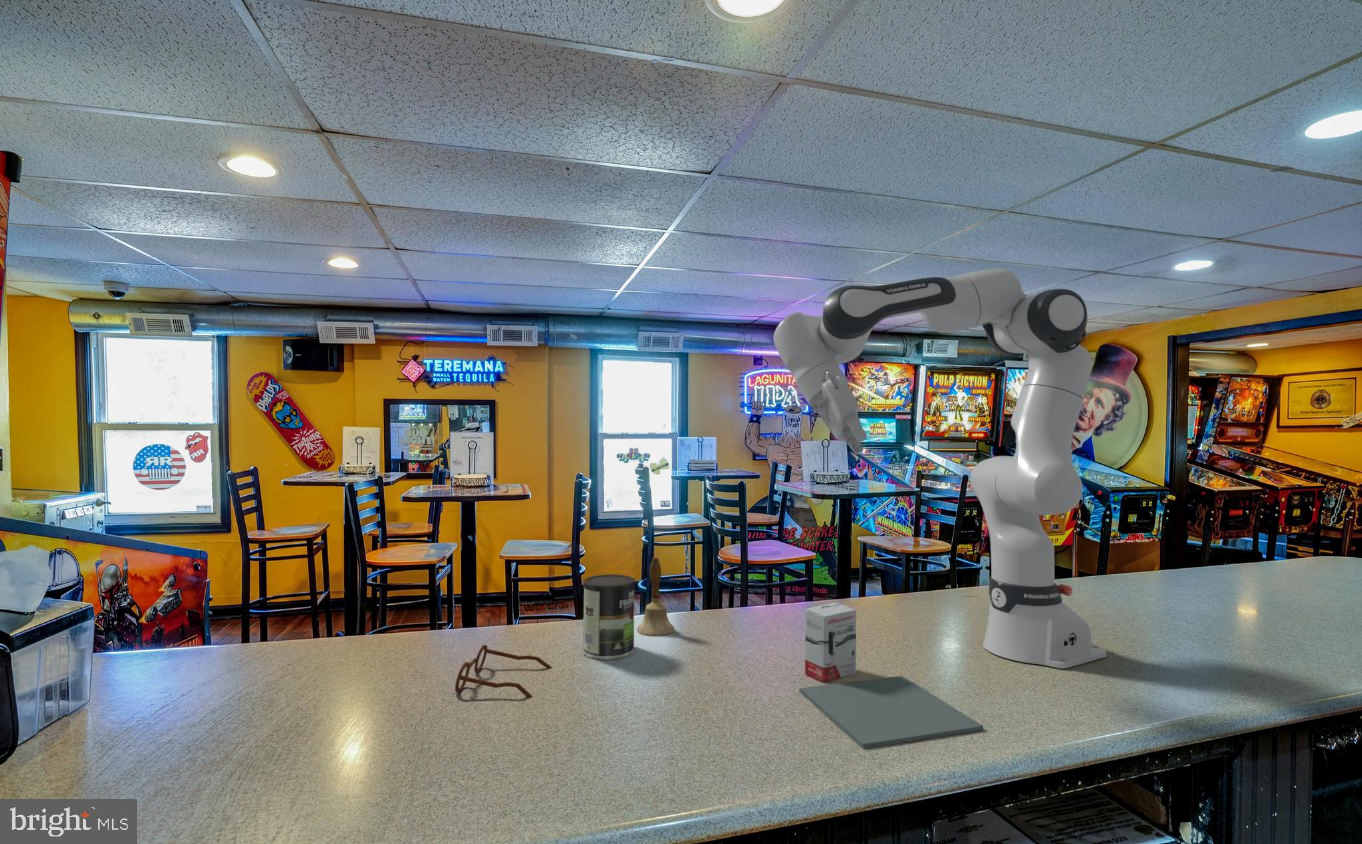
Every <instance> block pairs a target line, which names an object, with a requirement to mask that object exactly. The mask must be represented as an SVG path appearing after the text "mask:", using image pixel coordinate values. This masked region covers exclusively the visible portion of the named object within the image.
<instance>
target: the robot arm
mask: <svg viewBox="0 0 1362 844" xmlns="http://www.w3.org/2000/svg"><path fill="white" fill-rule="evenodd" d="M1087 309H1088V308H1087V306H1086V303H1085V300H1084V299H1083V298H1082V296H1081V295H1080V294H1079V293H1077V292H1075V291H1074V290H1071V289H1067V288H1066V289H1065V288H1052V289H1047V290H1043V291H1042V292H1040V293H1036V294H1034V295H1029V296H1028V295H1027V294H1026V293H1025V292H1024V291H1023V289H1022V284H1021V281H1020V280H1019V278H1018V276H1017V275H1016V274H1015V273H1014V272H1012V270H1008V269H1006V268H991V269H981V270H976V271H970V272H966V273H965V272H964V273H962V274H958V275H954V276H951V277H940V276H931V277H929V276H928V277H924V278H922V277H921V278H916V279H909V280H905V281H904V280H903V281H899V282H891V283H888V284H882V285H873V286H872V285H870V286H869V285H857V284H855V285H853V284H852V285H851V284H849V285H845V286H842V287H839V288H836V289H834V290H833V291H832V292H831V293H829V295H827V298H826V300H825V301H824V303H823V308H822V315H818V316H817V315H809V314H804V313H801V312H798V311H797V312H793V313H791V314H789V315H787V316H786V317H785V318H783V319H782V320H781V321H780V323H778V325H777V326H776V328H775V330H774V333H773V344H774V346H775V349H776V351H777V353H778V354H779V357H780V358H781V360H782V362H783V364H784V366H785V367H786V369H787V370H788V371H789V372H790V373H791V374H792V375H793V377H794V380H795V383H796V386H797V387H798V389H799V391H800V393H801V394H802V396H803V397H804V399H805V401H806V403H807V404H808V405H809V406H810V407H811V410H812V411H813V412H814V413H815V414H816V413H818V415H819V417H820V418H821V420H822V422H823V423H824V425H825V426H826V427H827V428H828V430H829V431H830V433H831V435H833V436H834V438H835V439H836V440H837V441H838V442H842V441H844V442H845V443H846V444H847V445H848V446H849V448H850V449H851V450H852V451H853V453H854V454H855V455H859V454H861V453H863V451H864V446H863V445H862V442H863V441H866V440H867V437H868V434H867V432H866V431H865V429H864V427H863V425H862V423H861V420H860V418H859V416H858V414H859V413H858V412H859V408H860V405H859V402H858V400H857V398H856V397H855V395H854V394H853V393H852V391H851V389H850V387H848V386H849V383H850V381H849V379H848V377H846V375H845V373H844V371H843V370H842V368H841V366H840V365H844V364H847V363H850V362H852V361H855V359H857V358H858V357H859V356H860V355H861V353H862V351H863V350H864V349H865V346H866V344H867V342H868V338H869V336H870V334H871V332H872V330H873V329H874V328H876V327H877V325H878V324H879V323H881V322H883V321H884V320H887V319H892V318H896V317H902V316H908V315H911V314H917V313H920V315H921V316H922V320H924V323H925V324H926V325H927V326H928V327H929V328H930V329H932V330H933V331H935V332H937V333H940V334H947V333H950V334H951V333H956V332H962V331H965V330H969V329H971V328H976V327H978V326H982V328H983V330H984V331H985V334H986V339H987V341H988V343H989V344H990V346H991V347H992V348H993V349H994V350H995V351H996V352H998V353H1000V354H1002V355H1007V356H1008V355H1009V356H1021V355H1024V354H1027V358H1028V368H1027V369H1028V372H1027V374H1026V376H1025V378H1024V382H1023V384H1022V386H1021V390H1020V393H1019V396H1018V399H1017V401H1016V404H1015V408H1014V410H1013V413H1012V416H1011V419H1010V425H1011V428H1012V429H1013V431H1014V432H1015V437H1016V442H1015V443H1016V445H1015V453H1014V455H1013V456H1010V455H1009V456H1008V455H998V456H992V457H989V458H987V459H984V460H981V461H980V462H978V463H977V464H976V465H975V466H974V467H973V469H972V470H971V472H970V477H969V484H970V488H971V490H972V492H973V493H974V495H975V496H976V498H977V499H978V500H979V502H980V506H981V507H982V511H983V515H984V518H985V521H986V525H987V530H988V533H989V542H990V563H991V564H990V565H991V568H990V569H991V571H990V572H991V576H989V578H988V594H989V598H990V602H989V607H988V609H989V610H988V618H987V625H986V630H985V632H984V640H983V642H982V646H983V648H984V649H985V650H986V651H988V652H990V653H992V654H994V655H996V656H998V657H1001V658H1005V659H1009V660H1012V661H1016V662H1021V663H1027V664H1034V665H1035V664H1036V665H1041V666H1042V665H1043V666H1048V667H1053V668H1056V669H1068V668H1073V667H1074V666H1080V665H1082V664H1087V663H1089V662H1093V661H1096V660H1100V659H1104V658H1106V657H1108V656H1107V651H1106V650H1105V649H1103V648H1102V647H1101V646H1099V645H1096V644H1095V643H1092V642H1093V641H1092V633H1091V628H1090V625H1089V624H1088V622H1087V621H1086V620H1085V619H1084V618H1082V617H1081V616H1080V615H1078V613H1076V612H1075V611H1073V610H1072V609H1071V608H1070V607H1068V605H1066V604H1065V603H1064V601H1063V598H1062V595H1064V596H1066V597H1070V596H1072V594H1073V593H1074V590H1073V587H1072V586H1071V585H1067V584H1066V585H1065V584H1063V583H1060V584H1058V585H1057V584H1056V582H1055V546H1054V543H1053V541H1052V539H1051V537H1049V535H1048V534H1047V533H1046V531H1045V530H1044V527H1043V526H1042V522H1041V520H1040V517H1039V516H1053V515H1054V516H1055V515H1060V514H1065V513H1068V512H1071V511H1072V510H1073V509H1075V508H1076V507H1077V505H1078V504H1079V503H1080V500H1081V499H1082V495H1083V481H1082V479H1081V477H1080V475H1079V473H1078V472H1077V470H1076V469H1075V467H1074V464H1073V456H1072V454H1073V453H1072V443H1073V436H1074V432H1075V428H1076V425H1077V422H1078V418H1079V415H1080V412H1081V409H1082V407H1083V403H1084V401H1085V397H1086V393H1087V389H1088V386H1089V381H1090V375H1091V368H1092V357H1091V354H1090V352H1089V351H1088V349H1087V348H1085V347H1084V346H1083V345H1081V344H1082V343H1083V341H1084V340H1085V338H1086V336H1087V331H1086V328H1087V324H1088V310H1087Z"/></svg>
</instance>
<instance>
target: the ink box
mask: <svg viewBox="0 0 1362 844" xmlns="http://www.w3.org/2000/svg"><path fill="white" fill-rule="evenodd" d="M804 639H805V643H804V644H805V645H804V646H805V647H804V648H805V649H804V650H805V651H804V655H805V656H804V674H805V675H807V676H809V677H810V678H813V679H815V680H817V681H819V682H821V681H822V682H821V683H823V682H824V684H825V683H829V682H831V680H832V681H834V680H835V681H836V680H837V679H841V677H842V678H844V676H845V677H848V676H851V675H854V674H856V672H857V671H856V670H857V669H856V668H857V667H856V666H857V656H856V655H857V609H854V608H852V607H849V606H847V605H843V604H841V603H839V602H831V603H827V604H823V605H817V606H813V607H808V608H807V609H806V610H805V638H804ZM828 681H829V682H828Z"/></svg>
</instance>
